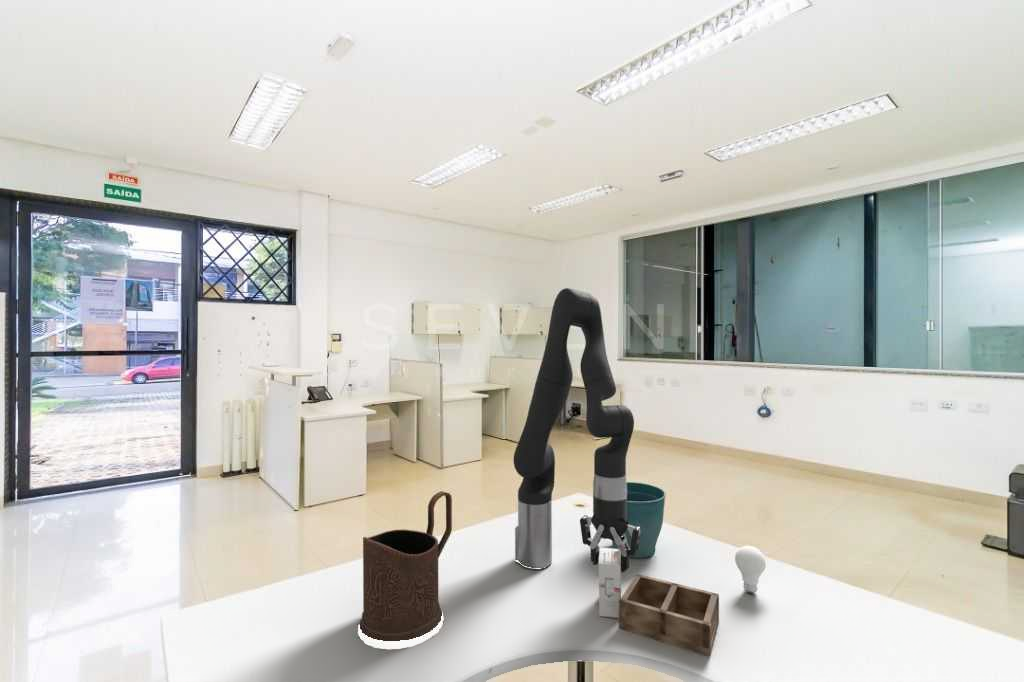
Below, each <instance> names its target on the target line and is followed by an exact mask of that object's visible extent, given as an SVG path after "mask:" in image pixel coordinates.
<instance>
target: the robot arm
mask: <svg viewBox="0 0 1024 682" xmlns="http://www.w3.org/2000/svg"><path fill="white" fill-rule="evenodd" d="M603 325H604V324H603V319H602V312H601V306H600V302H599V300H598V298H597V297H596V296H595V295H593V294H592V293H588V292H584V291H581V290H578V289H573V288H570V287H569V288H567V287H565V288H562V289H561V290H560V291H559V292H558V294H557V295H556V297H555V299H554V302H553V306H552V309H551V315H550V321H549V326H548V333H547V338H546V342H545V347H544V351H543V356H542V359H541V362H540V367H539V370H538V373H537V376H536V380H535V384H534V388H533V391H532V392H533V393H532V397H531V400H530V404H529V408H528V412H527V417H526V420H525V423H524V427H523V430H522V433H521V435H520V437H519V440H518V442H517V445H516V447H515V451H514V453H513V459H512V460H513V467H514V469H515V472H516V473H517V474H518V475H519V476H520V477H522V480H521V481H522V482H521V483H520V486H519V487H518V490H517V525H516V526H515V527H514V533H515V534H514V546H515V547H514V561H515V560H518V561H519V562H520V563H521V564H522V565H524V566H527V567H531V568H544V567H547V566H549V565H550V564H551V563H553V546H552V545H553V525H552V524H553V517H552V515H553V514H552V513H553V512H552V511H553V510H552V509H553V508H552V506H553V504H552V503H553V501H552V497H553V490H554V488H555V478H556V477H555V475H556V471H555V470H556V457H555V451H554V449H553V447H552V445H551V444H550V442H549V438H550V434H551V432H552V430H553V427H554V426H555V424H556V422H557V420H558V419H559V417H560V415H561V413H562V412H563V410H564V408H565V405H566V403H567V401H568V398H569V394H570V391H571V387H572V383H573V378H574V376H573V375H574V373H573V368H572V363H571V360H570V356H569V352H568V339H569V333H570V330H571V326H572V327H577V328H580V329H581V331H582V334H583V336H584V340H585V343H584V344H585V345H584V349H583V353H582V355H581V359H580V364H579V365H580V374H581V379H582V382H583V385H584V389H585V395H586V417H585V423H586V428H587V430H588V432H589V433H590V434H591V435H592V436H593V437H595V438H597V439H600V438H601V439H603V438H611V439H610V441H608V443H607V444H604V445H602V446H599V447H597V448H595V450H594V457H593V460H594V462H593V464H594V465H593V467H594V468H593V469H594V471H593V472H594V473H593V483H592V516H588V515H587V514H585V515H583V516H582V517H581V518H580V519H579V526H580V533H581V540H582V544H583V545H587V546H588V547H589V548H590V561H591V563H592V565H593V566H597V565H598V560H599V550H600V546H599V543H600V541H601V540H602V539H605V540H611V542H612V541H615V542H616V544H617V546H618V547H619V549H620V551H621V554H622V555H621V554H620V557H621V573H623V574H625V572H626V571H628V569H629V568H630V557H629V555H632V556H634V555H635V554H636V552H637V551H638V547H639V541H640V534H641V527H640V526H636V527H635V526H632V525H629V523H628V521H627V482H628V481H627V469H626V468H627V467H626V466H627V462H626V461H627V460H626V459H627V454H628V451H629V447H630V443H631V439H632V435H633V432H634V428H635V419H634V415H633V412H632V410H631V409H630V408H629V407H628V406H626V405H623V404H621V405H620V404H618V405H613V404H612V405H603V401H607V400H609V399H611V398H614V396H615V395H616V393H617V386H616V382H615V380H614V377H613V373H612V369H611V367H610V363H609V360H608V355H607V351H606V350H607V349H606V345H605V343H606V342H605V334H604V332H605V331H604V326H603ZM591 525H593V527H594V529H595V530H596V532H595V533H594V536H593V537H592V534H591ZM626 530H628V531H629V532H630V536H632V540H631V546H630V547H629V546H628V543H627V539H626V536H625V534H624V533H625V532H626ZM551 565H552V564H551ZM551 565H550V566H551ZM550 566H549V567H550ZM547 568H548V567H547ZM544 569H545V568H544Z"/></svg>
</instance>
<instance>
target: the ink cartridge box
mask: <svg viewBox="0 0 1024 682" xmlns="http://www.w3.org/2000/svg"><path fill="white" fill-rule="evenodd" d="M597 565H598V601H599V602H598V605H599V606H598V611H599V614H598V615H599V617H604V618H605V617H606V618H616V619H619V599H620V598H621V597H622V572H621V554H620V549H619V547H618V549H613V548H612V547H611V548H608V547H599V560H598V564H597Z"/></svg>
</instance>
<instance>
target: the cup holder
mask: <svg viewBox="0 0 1024 682" xmlns="http://www.w3.org/2000/svg"><path fill="white" fill-rule="evenodd" d="M442 497H445V524H446V525H445V531H444V532H443V535H442V537H441V539H440V541H438V538H437V537H435V536H434V535H433V534H434V528H435V506H436V504H437V502H438V500H439V499H441V498H442ZM452 500H453V498H452V495H451V493H449V492H446V491H439V492H437V493H435V494H434V495H433V496H432V497H431V498H430V500H429V502H428V506H427V527H426V532H423V531H418V530H414V529H413V530H411V529H392V530H387V531H383V532H381V533H378V534H375V535H372V536H368V537H367V536H363V537H362V559H363V560H362V564H363V565H362V567H363V568H362V571H363V572H362V574H363V577H362V578H363V579H362V581H363V582H362V583H363V584H362V587H363V591H362V595H363V596H362V598H363V600H362V601H363V604H362V605H363V609H362V610H363V611H362V612H361V618H362V619H361V618H360V619H359V620H360V621H359V622H360V629H361V630H362V633H364V634H365V635H367V636H368V637H371V638H373V639H377V640H383V641H400V640H409V639H413V638H416V637H420V636H422V635H424V634H426V633H428V632H430V631H431V630H433V628H435V627H436V626H437V625H438V623H439V622H440V621H441V616H442V611H443V610H442V608H441V605H440V601H439V558H440V556H441V553H442V552H443V550H444V548H445V546H446V544H447V542H448V540H449V538H450V537H451V534H452V530H453V520H452V519H453V501H452ZM441 610H442V611H441Z"/></svg>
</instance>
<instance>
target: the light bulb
mask: <svg viewBox="0 0 1024 682" xmlns="http://www.w3.org/2000/svg"><path fill="white" fill-rule="evenodd" d="M734 555H735V556H734V561H735V564H736V567H737V569H739V572H740V574H741V578H742V581H743V585H742V587H743V590H744V591H745V592H748V593H749V594H755V593H757V591H758V583H759V579H760V576H762V575H763V572H764V571H765V569H766V567H767V562H766V558H765V555H764V554H763V553H762V551H761V550H759V549H758V548H757V547H755V546H752V545H743V546H741V547H740V548H738V549H737V551H736V552H735V554H734Z"/></svg>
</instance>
